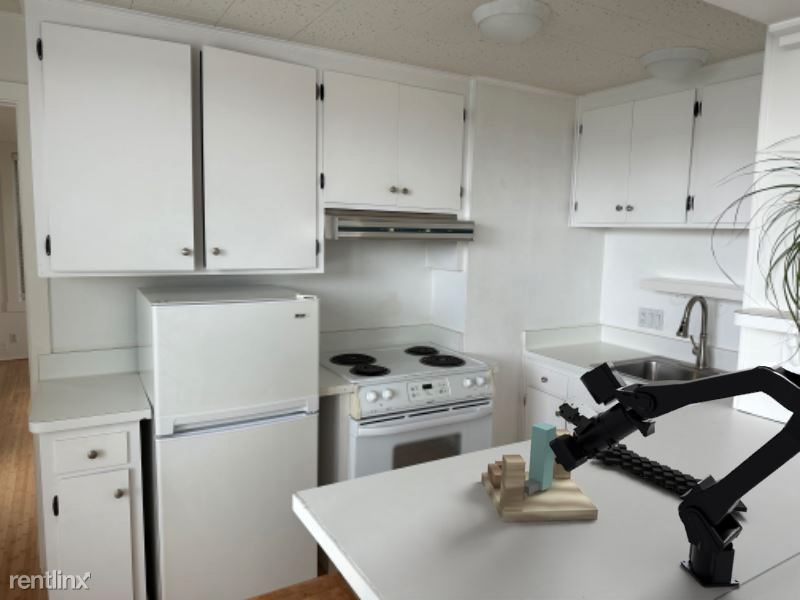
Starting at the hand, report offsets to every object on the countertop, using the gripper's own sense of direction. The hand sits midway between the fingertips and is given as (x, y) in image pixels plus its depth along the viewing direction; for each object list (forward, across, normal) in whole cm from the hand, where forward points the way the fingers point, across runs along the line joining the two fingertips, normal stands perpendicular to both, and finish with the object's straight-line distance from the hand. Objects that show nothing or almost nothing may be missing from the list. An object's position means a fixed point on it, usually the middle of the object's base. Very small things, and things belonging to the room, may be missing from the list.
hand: (556, 461), depth 113 cm
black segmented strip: (+2, -29, +12) cm, 32 cm away
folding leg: (+7, +2, +2) cm, 8 cm away
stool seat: (+9, +1, +4) cm, 10 cm away
